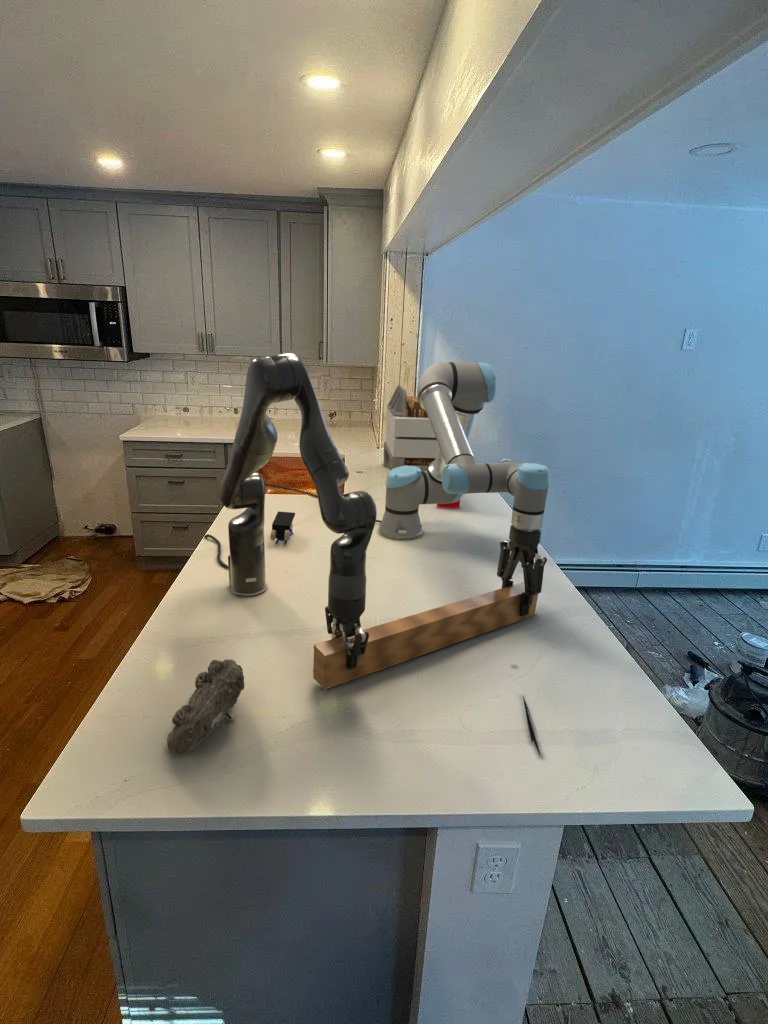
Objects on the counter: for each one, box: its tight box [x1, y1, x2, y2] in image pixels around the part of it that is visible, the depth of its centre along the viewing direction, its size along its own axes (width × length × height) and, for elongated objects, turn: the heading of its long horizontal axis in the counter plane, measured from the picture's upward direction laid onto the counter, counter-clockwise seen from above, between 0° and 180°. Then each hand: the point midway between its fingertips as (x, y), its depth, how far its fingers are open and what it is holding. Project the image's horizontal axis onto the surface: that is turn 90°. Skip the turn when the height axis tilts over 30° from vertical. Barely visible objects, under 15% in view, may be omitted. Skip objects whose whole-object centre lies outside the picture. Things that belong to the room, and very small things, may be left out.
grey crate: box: [383, 384, 439, 471], centre depth 268 cm, size 34×33×41 cm
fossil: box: [166, 658, 245, 754], centre depth 106 cm, size 22×10×15 cm
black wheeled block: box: [270, 510, 296, 546], centre depth 190 cm, size 7×8×15 cm
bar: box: [312, 581, 539, 690], centre depth 133 cm, size 64×5×8 cm, turn 125°
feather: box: [513, 664, 541, 755], centre depth 114 cm, size 2×28×2 cm
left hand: (344, 661), depth 119 cm, fingers closed on bar, 4 cm apart
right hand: (514, 609), depth 148 cm, fingers open, 5 cm apart
